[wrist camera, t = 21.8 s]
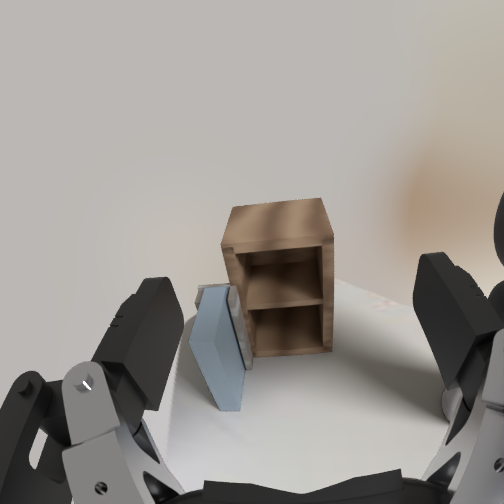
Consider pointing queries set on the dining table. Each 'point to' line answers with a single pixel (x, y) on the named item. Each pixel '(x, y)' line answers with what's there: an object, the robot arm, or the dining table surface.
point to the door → (218, 349)
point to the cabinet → (279, 278)
